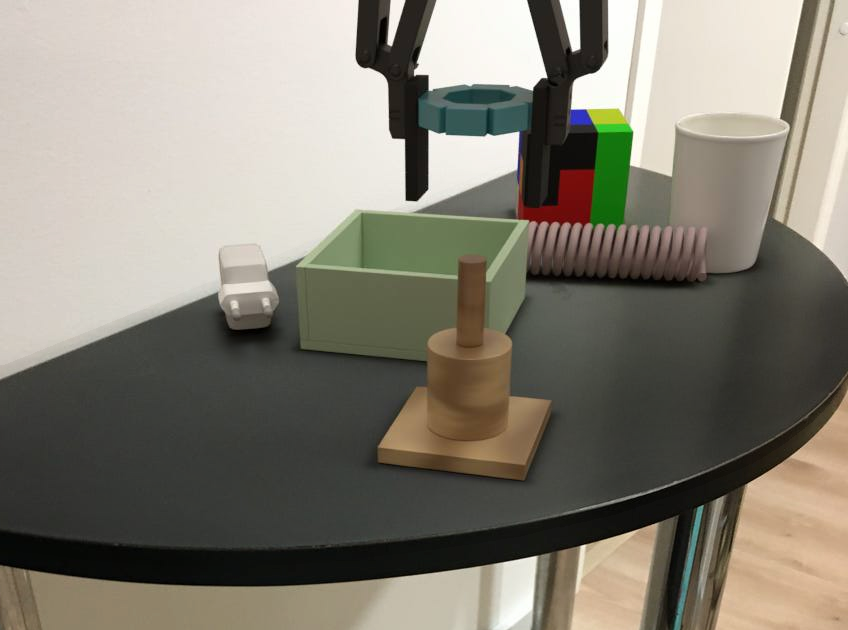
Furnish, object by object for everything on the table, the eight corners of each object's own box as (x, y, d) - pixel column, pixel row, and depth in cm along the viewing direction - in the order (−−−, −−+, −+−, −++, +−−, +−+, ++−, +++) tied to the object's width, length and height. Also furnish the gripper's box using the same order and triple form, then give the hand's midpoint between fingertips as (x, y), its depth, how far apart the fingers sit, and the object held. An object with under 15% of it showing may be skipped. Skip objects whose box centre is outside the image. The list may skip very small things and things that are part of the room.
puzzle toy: (515, 210, 120) (520, 110, 114) (608, 209, 119) (618, 108, 113) (521, 240, 112) (527, 133, 106) (621, 238, 111) (633, 131, 105)
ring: (545, 111, 67) (547, 85, 66) (524, 138, 62) (526, 111, 61) (436, 107, 68) (436, 82, 68) (406, 133, 63) (406, 107, 62)
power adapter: (286, 354, 90) (281, 282, 86) (226, 359, 89) (219, 287, 86) (272, 305, 99) (266, 238, 95) (217, 310, 98) (210, 243, 95)
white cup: (636, 259, 106) (652, 124, 99) (699, 236, 111) (719, 106, 104) (722, 284, 100) (746, 143, 93) (785, 259, 105) (812, 123, 98)
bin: (524, 298, 99) (529, 220, 94) (487, 367, 87) (490, 281, 83) (358, 284, 102) (355, 209, 98) (300, 349, 91) (295, 266, 87)
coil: (712, 223, 100) (513, 216, 103) (715, 233, 96) (508, 225, 100) (704, 275, 103) (510, 267, 106) (707, 287, 99) (505, 278, 102)
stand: (550, 415, 80) (564, 239, 72) (524, 481, 72) (536, 292, 65) (416, 400, 82) (416, 229, 75) (377, 462, 75) (373, 279, 67)
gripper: (272, -286, 53) (303, 207, 67) (692, -312, 48) (633, 226, 62) (322, -279, 59) (342, 174, 73) (704, -302, 54) (647, 189, 68)
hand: (476, 197), depth 68 cm, fingers closed on ring, 7 cm apart
